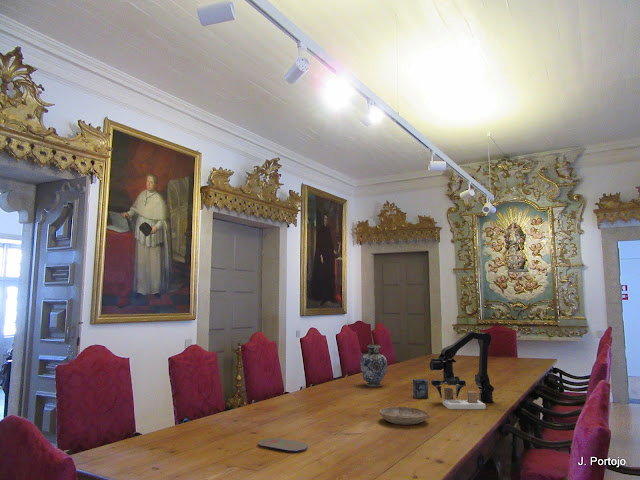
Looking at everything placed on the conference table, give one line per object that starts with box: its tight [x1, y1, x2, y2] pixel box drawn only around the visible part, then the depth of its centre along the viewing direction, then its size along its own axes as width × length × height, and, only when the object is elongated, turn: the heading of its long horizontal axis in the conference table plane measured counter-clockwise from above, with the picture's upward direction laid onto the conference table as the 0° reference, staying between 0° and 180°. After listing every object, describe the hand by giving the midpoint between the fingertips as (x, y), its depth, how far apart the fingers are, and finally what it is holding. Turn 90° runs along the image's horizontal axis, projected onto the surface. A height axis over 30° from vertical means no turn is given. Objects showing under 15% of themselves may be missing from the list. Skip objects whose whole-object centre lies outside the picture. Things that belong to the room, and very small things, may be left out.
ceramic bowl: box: [379, 406, 429, 426], centre depth 227 cm, size 23×24×5 cm
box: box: [412, 378, 429, 399], centre depth 286 cm, size 8×6×11 cm
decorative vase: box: [359, 343, 388, 388], centre depth 328 cm, size 21×19×28 cm
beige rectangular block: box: [443, 387, 454, 400], centre depth 271 cm, size 4×4×8 cm
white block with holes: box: [442, 390, 487, 410], centre depth 261 cm, size 20×12×8 cm, turn 91°
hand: (448, 397), depth 271 cm, fingers open, 9 cm apart
